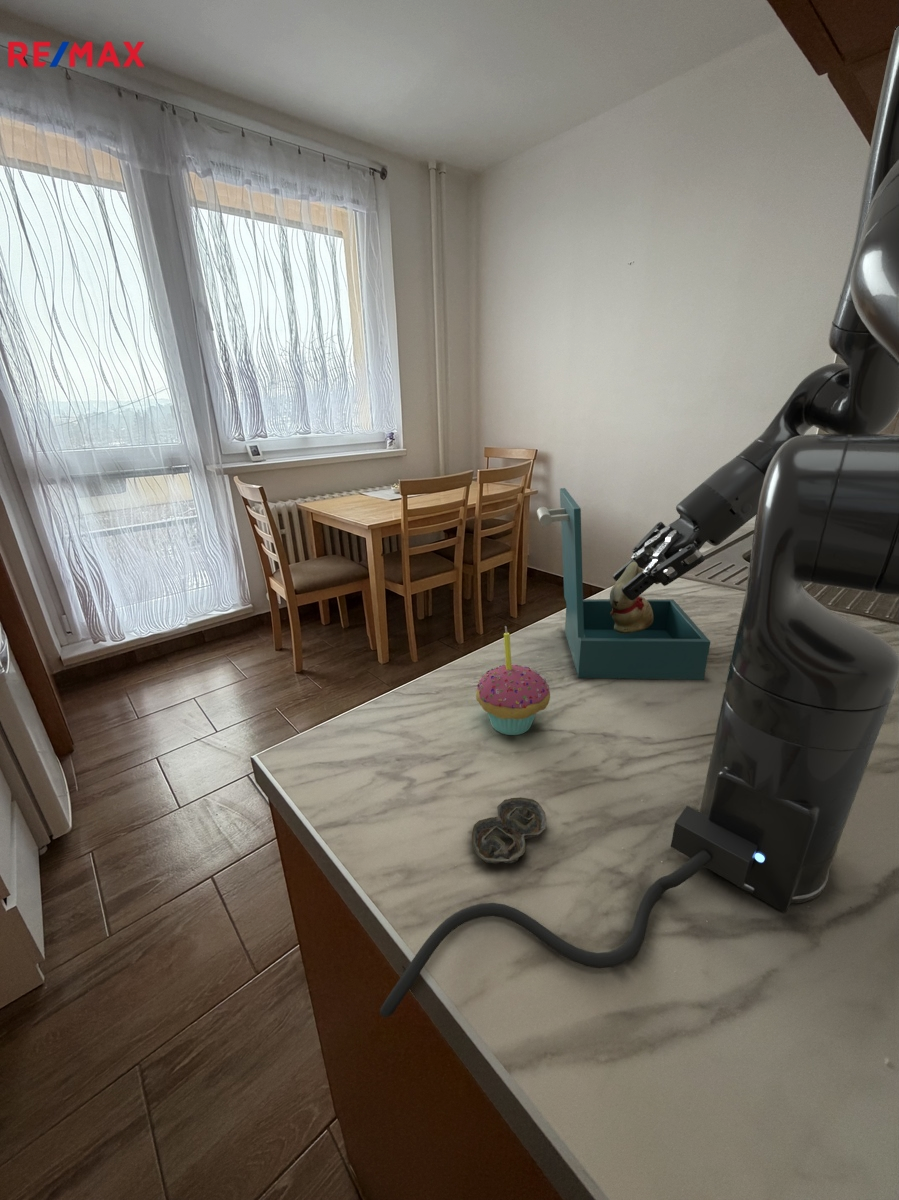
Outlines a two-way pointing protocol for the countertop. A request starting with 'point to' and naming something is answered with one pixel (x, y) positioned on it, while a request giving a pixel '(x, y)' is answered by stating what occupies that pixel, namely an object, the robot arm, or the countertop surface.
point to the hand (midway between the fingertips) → (621, 588)
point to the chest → (638, 644)
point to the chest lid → (569, 553)
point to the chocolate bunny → (629, 605)
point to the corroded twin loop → (508, 830)
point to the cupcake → (512, 695)
